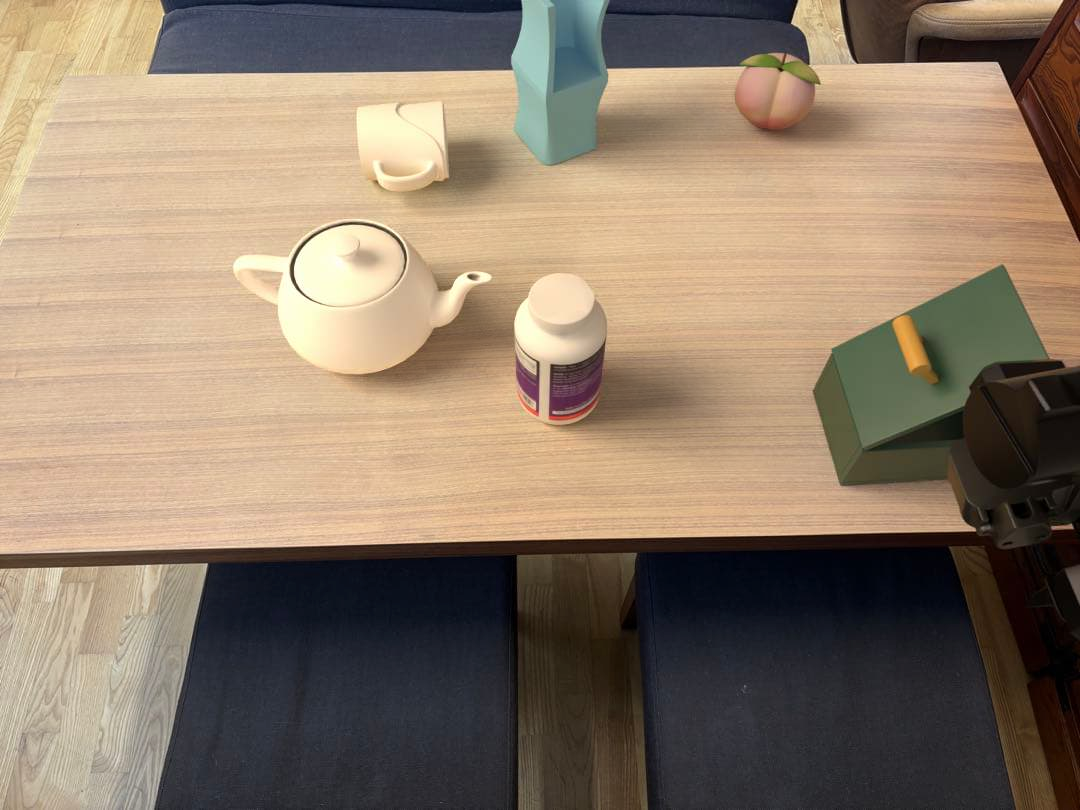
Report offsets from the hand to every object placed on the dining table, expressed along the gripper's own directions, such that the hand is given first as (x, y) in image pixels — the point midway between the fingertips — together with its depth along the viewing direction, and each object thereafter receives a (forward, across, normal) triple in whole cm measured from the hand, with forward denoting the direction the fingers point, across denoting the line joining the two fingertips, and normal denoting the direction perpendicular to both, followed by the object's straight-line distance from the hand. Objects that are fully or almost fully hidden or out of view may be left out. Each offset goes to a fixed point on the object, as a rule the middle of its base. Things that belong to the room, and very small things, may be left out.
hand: (1008, 543), depth 61 cm
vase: (+12, -60, -28) cm, 67 cm away
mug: (+12, -54, -45) cm, 72 cm away
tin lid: (0, -16, 0) cm, 16 cm away
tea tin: (+12, -16, +2) cm, 20 cm away
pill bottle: (+12, -23, -30) cm, 40 cm away
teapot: (+12, -32, -48) cm, 59 cm away
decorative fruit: (+12, -61, -2) cm, 62 cm away
